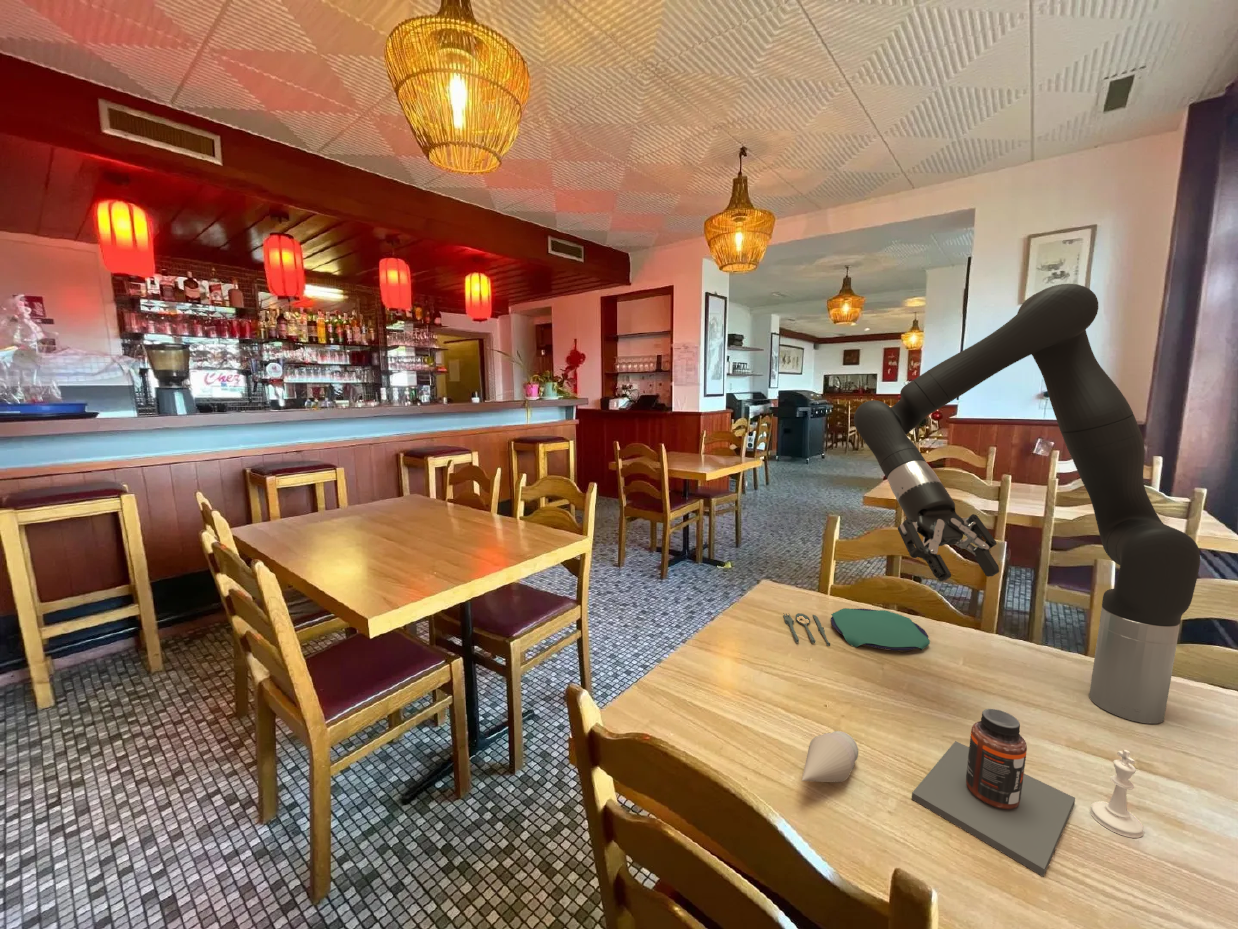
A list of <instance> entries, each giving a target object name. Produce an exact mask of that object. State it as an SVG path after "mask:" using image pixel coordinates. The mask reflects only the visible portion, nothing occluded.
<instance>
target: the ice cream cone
mask: <svg viewBox="0 0 1238 929" xmlns="http://www.w3.org/2000/svg"><path fill="white" fill-rule="evenodd" d="M808 745H809V746H808V748H807V753H806V754H807V755H806V758H805V763H804V768H803V773H802V777H801V782H820V783H822V782H824V783H841V782H845V781H846V780H847V779H849V777H850V774H851V772H852V770H853V769H854V766H855V763H856V761H857V760H858V758H859V747H858V745H857V742H856V741H855V739H854V738H853V737H852V736H851V735H850V734H848V733H847V732H844V731H841V730H836V731H832V732H826V733H823V734H820V735H817V736H814V737H813V738H812V739H811V740H810V743H809V744H808Z"/></svg>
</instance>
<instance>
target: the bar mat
mask: <svg viewBox="0 0 1238 929" xmlns="http://www.w3.org/2000/svg"><path fill="white" fill-rule="evenodd" d="M968 754H969V746H967V745H966V744H963V743H961V742H959V741H956V740H955V741H954V742H953V743H952V744H951V746H950V747H949V748H948V749H947V750H946V752H945V753H944V754H943V755H942V756H941V758H940V759H939V760H937V763H936V764H935V765H934V766H933V767H932V768H931V770H930V771H929V772H928V773H927V775H926V776H924V778H923V779H922V781H920V783H919V784H917V786H916V787H915V789H914V790H913V791H912V792H911V800H912V801H914V802H915V803H917V804H918V805H921V806H923V807H924V808H926V809H928V810H929V811H932V812H933V813H934V814H936V815H938V816H939V817H941V818H943V819H945V820H947V822H949V823H951V824H953V825H955V826H957V827H958V828H960V829H962V830H963V831H965V832H967V833H968V834H970V835H972V836H974V837H975V838H977V839H979V840H980V841H982V842H983V843H986V844H987V845H989V846H990V847H993V848H994V849H996V850H997V851H998V852H1000V853H1002V854H1004V855H1005V856H1007V857H1009V858H1011V859H1012V860H1014V861H1016V862H1018V863H1019V864H1021V865H1022V866H1024V867H1025V868H1028V869H1029V870H1031V871H1033V872H1034V873H1036V874H1038V875H1039V876H1041V877H1045V874H1046V873H1047V870H1048V868H1049V864H1050V862H1051V860H1052V858H1053V855H1054V853H1055V851H1056V849H1057V845H1058V843H1059V841H1060V840H1061V837H1062V834H1063V832H1064V831H1065V830H1064V829H1065V827H1066V825H1067V823H1068V820H1069V819H1070V816H1071V813H1072V811H1073V808H1074V806H1075V802H1076V797H1075V796H1072V795H1070V794H1068V793H1066V792H1065V791H1062V790H1059V789H1058V788H1056V787H1054V786H1052V785H1050V784H1047V783H1045V782H1042V781H1041V780H1039V779H1036V778H1034V777H1032V776H1030V775H1028V774H1026V773H1024V775H1023V784H1022V791H1021V799H1020V803H1019V805H1018V806H1017V807H1016V808H1013V809H1002V808H997V807H994V806H992V805H989V804H987V803H985V802H983V801H982V800H980V799H979V798H977V797H976V796H975V795H974V794H973V793H972V792H971V791H970V790H969V788H968V787H967V784H966V773H967V763H968Z"/></svg>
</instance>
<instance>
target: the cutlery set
mask: <svg viewBox="0 0 1238 929" xmlns="http://www.w3.org/2000/svg"><path fill="white" fill-rule="evenodd" d="M783 614H784V615H783V618H784V623H785V625H787V624H788V625H787V626H789V629H790V632H791V634H792V637H793V639H794V642H795V643H796V644H798V643H800V639H799V636H798V634H797V633H796V630H795V628H794V624H795V620H796V622H798V623H799V624H800V623H801V625H803V627H804V628H805V631H806V632H807V634H808V638H809V640H810V642H811V644H816V639H815V637H814V636H813V634H812V631H811V630H810V629H809V627H808V625H809V624H810V622H811V618H810V617H809V616H808V615H806V614H804V613H797V614H795V620H794V619H793V618H792V616H791V615H790V613H788V614H789V615H788V614H787V613H786V612H785V613H784V612H783ZM799 616H803V617H804V618H805V619H808V620H809V623H807V624H806V622H804V623H803V622H802V621H800V620H799V621H798V620H797V617H799ZM812 617H813V619H814V621H815V623H816V626H817V628H818V632H819V631H820V632H819V633H820V634H821V635H822V636H823V639H824V640H825V642H826V646H827V647H831V642H830V641H829V640H828V638H827V635H826V633H825V629H824V627H823V626H822V623H821V621H820V619H819V617H818V616H817V615H816V614H812ZM830 623H831V627H833V628H834V630H835V631H836V632H837V633H839V634H841V635H842V636H843V637H844V639H845V641H846V642H847V643H848V644H849V645H850V646H851V645H852V646H851V647H854V646H855V647H854V648H857V647H860V646H862V645H863V646H867V647H870V648H873V649H878V650H879V649H880V650H885V651H886V650H887V651H895V652H898V651H903V652H904V651H913V650H917V649H919V650H920V651H923V650H924V649H925V648H927V647H929V646H930V642H931V641H930V639H929V635H928V633H927V632H926V630H925V629H924V628H923V627H921V626H920V625H919V624H917V623H915V622H913V621H912V618H910V617H907V616H904V615H902V614H899V613H896V612H893V611H889V610H886V609H885V610H884V609H882V610H881V609H880V610H879V609H871V608H848V607H847V608H846V607H845V608H841V609H839V610H837V611H835V612H832V613H831V617H830Z"/></svg>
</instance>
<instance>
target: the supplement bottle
mask: <svg viewBox="0 0 1238 929" xmlns="http://www.w3.org/2000/svg"><path fill="white" fill-rule="evenodd" d="M1020 726H1021V723H1020V721H1019V719H1017V718H1016V717H1015V716H1013V715H1012V714H1010V713H1008V712H1007V711H1004V710H1000V709H995V708H985V709H984V710H982V713H981V717H980V720H978V721H976V722H974V723H973V725H972V726H971V729H970V735H969V736H970V738H969V746H968V747H969V754H968V763H967V773H966V784H967V787H968V788H969V790H970V791H971V792H972V793H973V794H974V795H975V796H976V797H977V798H979V799H980V800H982V801H983V802H985V803H987V804H989V805H992V806H994V807H997V808H1002V809H1013V808H1016V807H1017V806H1018V805H1019V803H1020V799H1021V791H1022V784H1023V775H1024V774H1025V766H1026V759H1027V750H1028V747H1027V745H1028V744H1027V742H1026V740H1025V739H1024V737H1023V736H1022V735H1021V734H1020Z"/></svg>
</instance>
